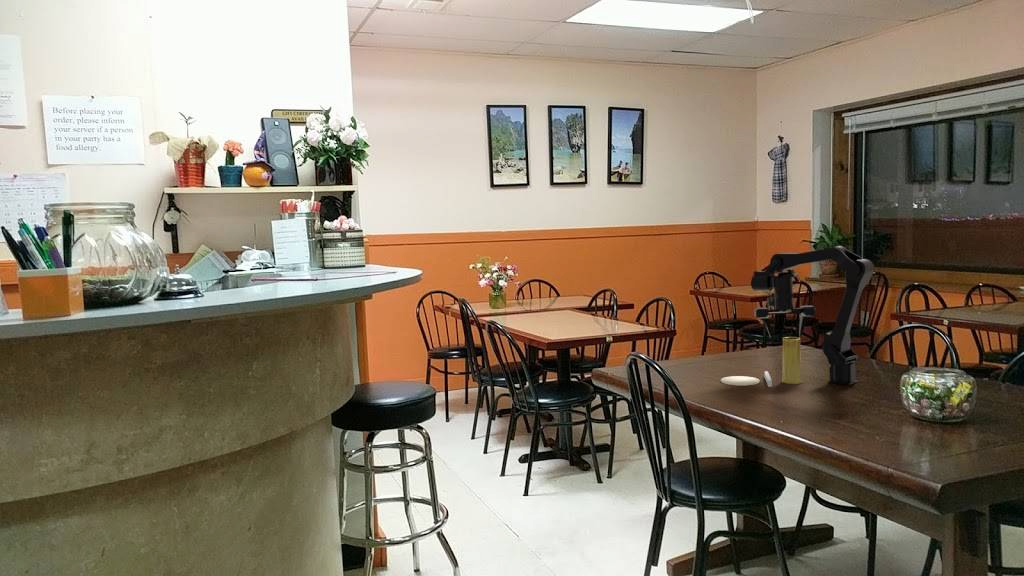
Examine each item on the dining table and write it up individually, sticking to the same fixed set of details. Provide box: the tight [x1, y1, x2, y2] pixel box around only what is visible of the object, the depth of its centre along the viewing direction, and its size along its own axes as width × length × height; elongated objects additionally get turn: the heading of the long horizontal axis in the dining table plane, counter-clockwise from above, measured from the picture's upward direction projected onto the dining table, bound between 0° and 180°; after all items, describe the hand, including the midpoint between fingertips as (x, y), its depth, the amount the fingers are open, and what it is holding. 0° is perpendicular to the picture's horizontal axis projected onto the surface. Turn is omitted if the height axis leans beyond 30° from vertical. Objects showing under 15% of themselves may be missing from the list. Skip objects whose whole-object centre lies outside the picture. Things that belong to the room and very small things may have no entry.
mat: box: [720, 375, 760, 387], centre depth 226 cm, size 12×12×1 cm
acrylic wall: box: [764, 370, 773, 388], centre depth 223 cm, size 14×1×2 cm, turn 165°
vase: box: [781, 336, 803, 385], centre depth 221 cm, size 6×6×14 cm
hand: (785, 337), depth 231 cm, fingers open, 9 cm apart
